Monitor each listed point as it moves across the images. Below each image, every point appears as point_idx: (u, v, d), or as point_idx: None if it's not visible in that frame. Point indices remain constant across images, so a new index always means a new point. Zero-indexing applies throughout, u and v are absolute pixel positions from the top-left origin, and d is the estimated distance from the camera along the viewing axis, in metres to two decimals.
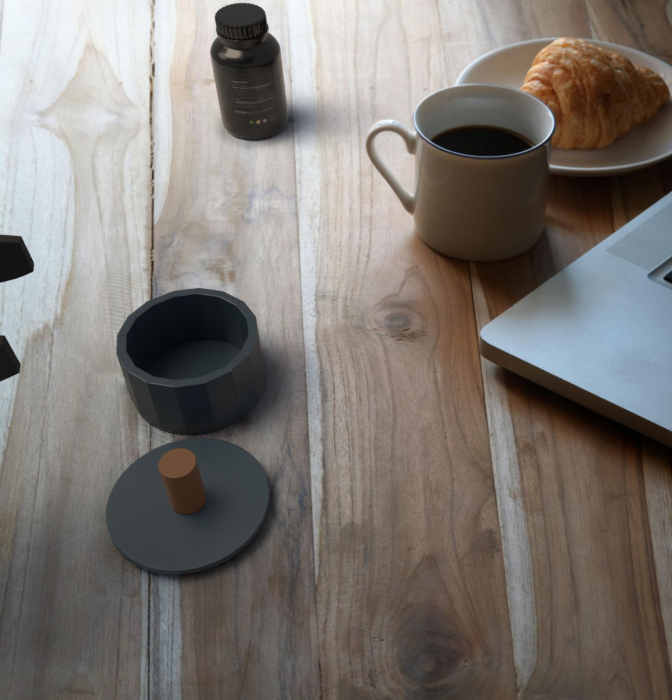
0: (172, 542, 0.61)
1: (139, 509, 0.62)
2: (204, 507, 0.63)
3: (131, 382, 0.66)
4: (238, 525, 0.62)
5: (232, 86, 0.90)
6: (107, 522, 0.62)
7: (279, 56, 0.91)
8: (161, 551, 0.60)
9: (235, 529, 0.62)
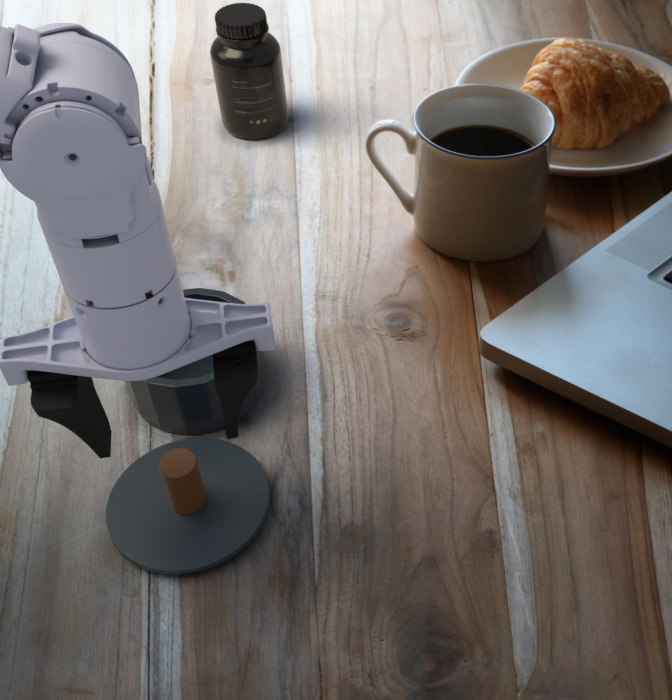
0: (172, 542, 0.61)
1: (139, 509, 0.62)
2: (204, 507, 0.63)
3: (131, 382, 0.66)
4: (238, 525, 0.62)
5: (232, 86, 0.90)
6: (107, 522, 0.62)
7: (279, 56, 0.91)
8: (161, 551, 0.60)
9: (235, 529, 0.62)
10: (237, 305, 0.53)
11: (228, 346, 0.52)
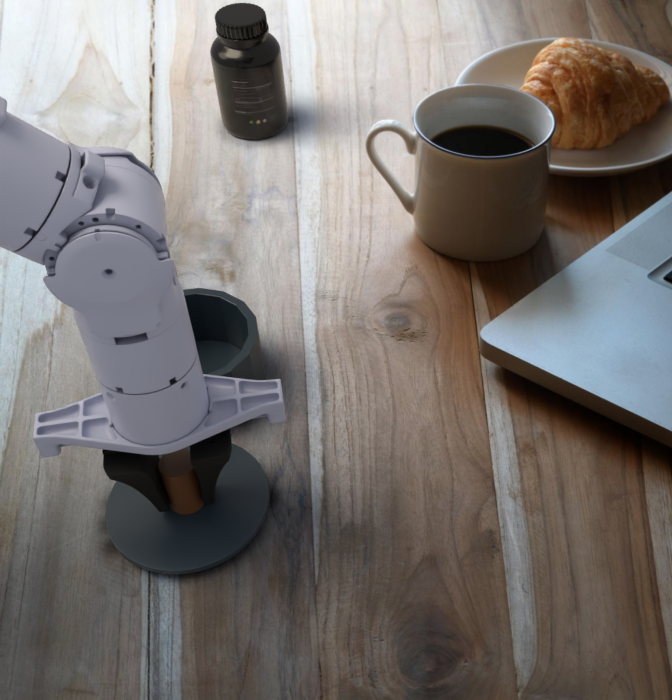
0: (172, 542, 0.61)
1: (139, 509, 0.62)
2: (204, 507, 0.63)
3: None
4: (238, 525, 0.62)
5: (232, 86, 0.90)
6: (107, 522, 0.62)
7: (279, 56, 0.91)
8: (161, 551, 0.60)
9: (235, 529, 0.62)
10: (251, 381, 0.58)
11: (243, 421, 0.56)
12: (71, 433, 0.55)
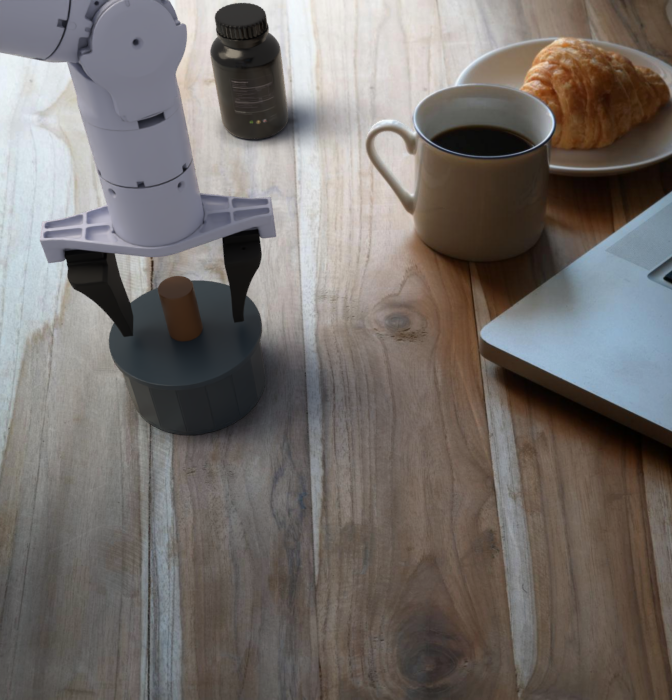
0: (171, 363, 0.65)
1: (140, 337, 0.67)
2: (200, 335, 0.67)
3: (131, 382, 0.66)
4: (232, 350, 0.66)
5: (232, 86, 0.90)
6: (110, 347, 0.66)
7: (279, 56, 0.91)
8: (160, 370, 0.65)
9: (229, 353, 0.66)
10: (243, 198, 0.62)
11: (236, 231, 0.60)
12: (75, 239, 0.59)
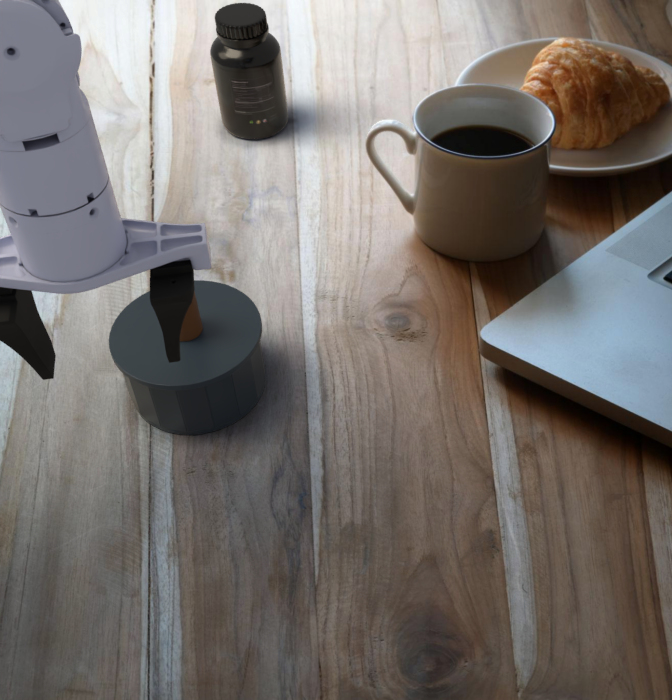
0: (171, 363, 0.65)
1: (140, 337, 0.67)
2: (200, 335, 0.67)
3: (131, 382, 0.66)
4: (232, 350, 0.66)
5: (232, 86, 0.90)
6: (110, 347, 0.66)
7: (279, 56, 0.91)
8: (160, 370, 0.65)
9: (229, 353, 0.66)
10: (174, 225, 0.54)
11: (163, 263, 0.53)
12: None
